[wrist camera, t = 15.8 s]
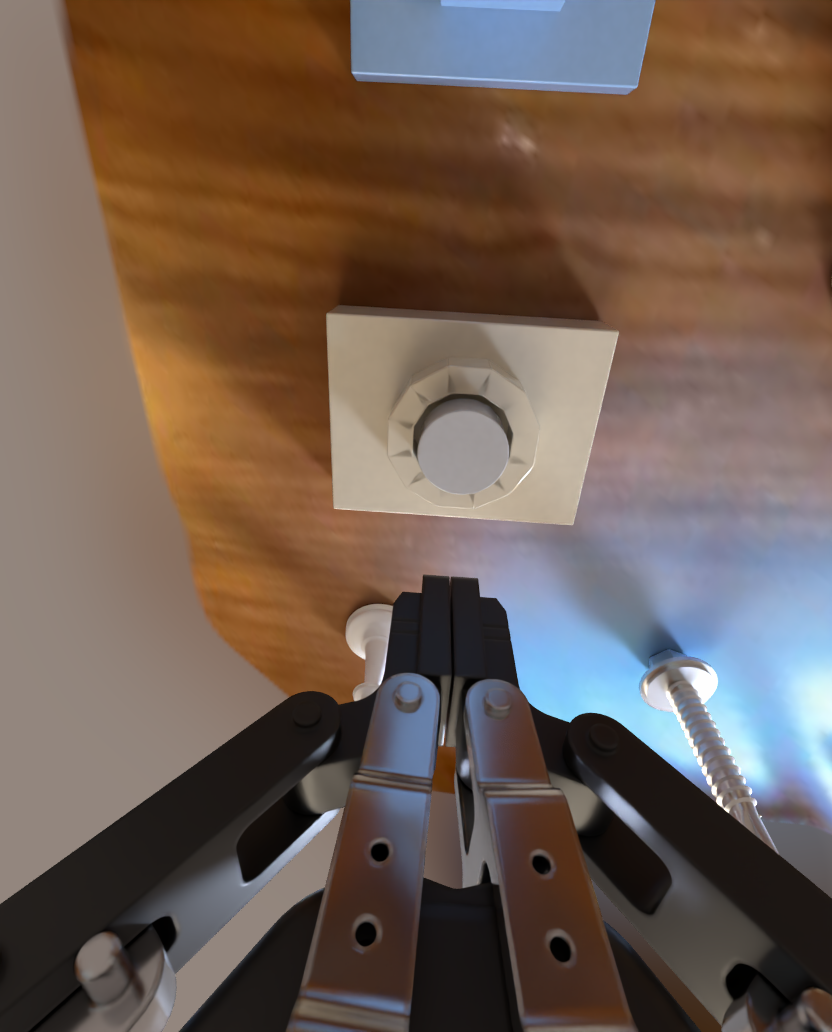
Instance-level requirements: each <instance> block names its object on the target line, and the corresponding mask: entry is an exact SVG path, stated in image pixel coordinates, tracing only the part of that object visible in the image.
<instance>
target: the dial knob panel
mask: <svg viewBox="0 0 832 1032" xmlns="http://www.w3.org/2000/svg"><path fill="white" fill-rule="evenodd" d="M326 328H327V355H328V382H329V409H330V436H331V463H332V490H333V508H334V509H346V510H360V511H375V512H389V513H404V514H418V515H432V516H447V517H461V518H476V519H490V520H505V521H519V522H533V523H548V524H562V525H573V524H574V519H575V515H576V511H577V507H578V503H579V498H580V494H581V490H582V486H583V481H584V477H585V473H586V469H587V465H588V460H589V456H590V452H591V448H592V444H593V439H594V435H595V431H596V427H597V423H598V418H599V414H600V410H601V406H602V402H603V397H604V393H605V389H606V385H607V381H608V376H609V372H610V368H611V364H612V360H613V355H614V351H615V347H616V343H617V339H618V334H619V331H618V330H616V329H615V328H613V327H611V326H610V325H608V324H606V323H605V322H603V321H594V320H577V319H561V318H544V317H528V316H511V315H495V314H478V313H462V312H445V311H429V310H412V309H395V308H379V307H362V306H346V305H337V306H336V307H335V308H333V309H332V310H330V311H329V312H327V313H326ZM458 398H468V399H474V400H478V401H480V402H483V403H484V404H486V405H488V406H489V407H491V408H492V409H493V410H494V411H495V412H496V413H497V415H498V416H499V417H500V419H501V421H502V423H503V426H504V429H505V433H506V436H507V440H508V444H509V458H508V463H507V465H506V468H505V470H504V472H503V473H502V475H501V476H500V477H499V478H498V480H497V481H496V482H494V483H493V484H492V485H491V486H489V487H488V488H486V489H484V490H482V491H479V492H477V493H473V494H466V495H458V494H452V493H448V492H445V491H442V490H441V489H439V488H437V487H436V486H434V485H433V484H432V483H431V482H429V481H428V479H427V478H426V477H425V476H424V474H423V473H422V471H421V468H420V466H419V463H418V457H417V450H418V442H419V434H420V430H421V426H422V424H423V422H424V420H425V418H426V417H427V416H428V414H429V413H430V412H431V411H432V410H433V409H434V408H436V407H437V406H438V405H440V404H442V403H444V402H446V401H449V400H453V399H458Z"/></svg>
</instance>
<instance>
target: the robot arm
mask: <svg viewBox="0 0 832 1032" xmlns="http://www.w3.org/2000/svg"><path fill="white" fill-rule="evenodd" d="M508 627H509V626H508V620H507V614H506V611H505V609H504V608H503V607H502V605H501V604H500V603H499V601H498V600H497V599H496V598H485V597H480V592H479V583H478V578H465V577H451V580H450V581H449V576H436V575H423V582H422V593H413V592H402V593H401V595H400V596H399V597H398V598H397V600H396V601H395V602H394V603H393V610H392V618H391V626H390V633H389V641H388V649H387V656H386V664H385V672H384V677H383V680H382V683H381V684H380V686H379V687H378V688H377V689H376V690H375V691H374V692H373V693H372V694H371V695H369V696H367V697H366V698H363V699H361V700H358V701H354V702H349V703H345V704H340V705H338V704H337V702H336V701H335V700H334V699H333V698H332V697H330V696H329V695H327V694H324V693H321V692H315V691H307V692H301V693H298V694H295V695H293V696H291V697H289V698H288V699H286V700H285V701H283V702H282V703H280V704H279V705H278V706H276V707H275V708H273V709H272V710H271V711H270V712H268V713H267V714H265V715H264V716H262V717H261V718H260V719H258V720H257V721H255V722H254V723H253V724H251V725H250V726H248V727H247V728H246V729H244V730H243V731H241V732H240V733H239V734H237V735H236V736H235V737H233V738H232V739H230V740H229V741H227V742H226V743H225V744H223V745H222V746H220V747H219V748H218V749H216V750H215V751H213V752H212V753H211V754H210V755H208V756H207V757H205V758H204V759H202V760H201V761H199V762H198V763H197V764H195V765H194V766H193V767H191V768H190V769H188V770H187V771H186V772H184V773H183V774H181V775H180V776H179V777H177V778H176V779H174V780H173V781H172V782H170V783H169V784H168V785H166V786H165V787H163V788H162V789H161V790H159V791H158V792H156V793H155V794H153V795H152V796H151V797H149V798H148V799H146V800H145V801H144V802H142V803H141V804H140V805H138V806H137V807H135V808H134V809H132V810H131V811H130V812H128V813H127V814H126V815H124V816H123V817H121V818H120V819H119V820H117V821H116V822H114V823H113V824H112V825H110V826H109V827H107V828H106V829H105V830H103V831H102V832H100V833H99V834H98V835H96V836H95V837H93V838H92V839H91V840H89V841H88V842H86V843H85V844H84V845H82V846H81V847H79V848H78V849H77V850H75V851H74V852H72V853H71V854H70V855H68V856H67V857H65V858H64V859H63V860H61V861H60V862H58V863H57V864H56V865H54V866H53V867H52V868H50V869H49V870H47V871H46V872H45V873H43V874H42V875H40V876H39V877H38V878H36V879H35V880H33V881H32V882H31V883H29V884H28V885H26V886H25V887H24V888H22V889H21V890H20V891H18V892H17V893H15V894H14V895H12V896H11V897H10V898H8V899H7V900H5V901H4V902H3V903H1V904H0V1032H162V1031H163V1029H164V1027H165V1026H166V1023H167V1021H168V1019H169V1017H170V1015H171V1012H172V1009H173V1006H174V1002H175V997H176V977H175V974H176V973H177V972H178V971H179V970H180V969H181V968H182V967H183V966H184V965H185V964H186V963H187V962H188V961H189V960H190V959H191V958H192V957H193V956H194V955H195V954H196V953H197V952H198V951H199V950H200V949H201V948H202V947H203V946H204V945H205V944H206V943H207V942H208V941H209V940H210V939H211V938H212V937H213V936H214V935H215V934H216V933H217V932H218V931H219V930H220V929H221V928H222V927H223V926H225V924H227V923H228V922H229V921H230V920H231V919H232V917H234V916H235V915H236V914H237V913H238V912H239V911H240V910H241V909H242V908H243V907H244V906H245V905H246V904H247V903H248V902H249V901H250V900H251V899H252V898H253V897H254V896H255V895H256V894H257V893H258V892H259V891H260V890H261V889H262V888H263V887H264V886H265V885H266V884H267V883H268V882H269V881H270V880H271V879H272V878H273V877H274V876H275V875H276V874H277V873H278V872H279V871H280V870H281V869H282V868H283V867H284V866H285V865H286V864H287V863H288V862H289V861H290V860H291V859H293V858H294V857H295V856H296V854H297V853H299V852H300V850H302V849H303V848H304V847H305V845H306V844H308V843H309V842H310V841H311V840H312V839H313V838H314V837H315V836H316V835H317V834H318V833H319V832H320V831H321V830H322V829H323V828H324V827H325V826H326V825H327V824H328V823H329V822H330V821H331V820H332V819H333V818H334V817H335V816H336V815H337V813H338V811H339V810H340V808H343V807H345V808H344V812H343V816H342V820H341V824H340V828H339V833H338V837H337V840H336V845H335V849H334V853H333V857H332V861H331V865H330V869H329V873H328V877H327V881H326V885H325V888H322V889H320V890H318V891H316V892H314V893H312V894H310V895H308V896H307V897H305V898H304V899H302V900H301V901H299V902H298V903H297V904H295V905H294V906H293V907H292V908H291V909H289V910H288V911H287V912H286V913H285V914H284V915H282V916H281V918H280V919H279V920H278V921H277V922H276V923H275V924H274V925H273V926H272V927H271V928H270V930H269V931H268V932H267V933H266V934H265V935H264V936H263V937H262V938H261V940H260V941H259V942H258V943H257V944H256V945H255V946H254V947H253V949H252V950H251V951H250V952H249V953H248V954H247V955H246V957H245V958H244V959H243V960H242V961H241V962H240V963H239V964H238V966H237V967H236V968H235V969H234V970H233V971H232V972H231V973H230V975H229V976H228V977H227V978H226V979H225V980H224V981H223V982H222V984H221V985H220V986H219V987H218V988H217V989H216V990H215V991H214V993H213V994H212V995H211V996H210V997H209V998H208V999H207V1000H206V1002H205V1003H204V1004H203V1005H202V1006H201V1007H200V1008H199V1009H198V1011H197V1012H196V1013H195V1014H194V1015H193V1016H192V1017H191V1018H190V1020H189V1021H188V1022H187V1023H186V1024H185V1025H184V1026H183V1027H182V1029H181V1030H180V1031H179V1032H701V1031H700V1029H699V1028H698V1027H697V1026H696V1025H695V1023H694V1022H693V1021H692V1020H691V1019H690V1017H689V1016H688V1015H687V1014H686V1012H685V1011H684V1010H683V1009H682V1007H681V1006H680V1005H679V1004H678V1003H677V1001H676V1000H675V999H674V998H673V996H672V995H671V994H670V993H669V992H668V991H667V989H666V988H665V987H664V985H663V984H662V983H661V982H660V981H659V979H658V978H657V977H656V976H655V974H654V973H653V972H652V971H651V969H650V968H649V967H648V966H647V965H646V963H645V962H644V961H643V960H642V959H641V957H640V956H639V955H638V954H637V952H636V951H635V950H634V949H633V948H632V947H631V945H630V944H629V943H628V942H627V941H626V940H625V939H624V938H623V937H622V936H621V935H620V934H619V933H618V932H617V931H616V930H615V929H613V928H612V927H611V926H610V925H609V924H608V923H606V922H605V921H604V920H603V919H602V915H601V912H600V908H599V905H598V902H597V898H596V895H595V892H594V888H593V885H592V881H591V879H592V880H593V881H594V882H595V883H596V885H597V886H598V887H599V888H600V889H601V890H602V891H603V892H604V894H605V895H606V896H607V897H608V898H609V899H610V900H611V902H612V903H613V904H614V905H615V906H616V907H617V908H618V909H619V911H620V912H621V913H622V914H623V915H624V916H625V917H626V918H627V919H628V921H629V922H630V923H631V924H632V925H633V926H634V927H635V929H636V930H637V931H638V932H639V933H640V934H641V935H642V936H643V938H644V939H645V940H646V941H647V942H648V943H649V944H650V946H651V947H652V948H653V949H654V950H655V951H656V952H657V953H658V955H659V956H660V957H661V958H662V959H663V960H664V961H665V962H666V964H667V965H668V966H669V967H670V968H671V969H672V970H673V971H674V973H675V974H676V975H677V976H678V977H679V978H680V979H681V981H682V982H683V983H684V984H685V985H686V986H687V987H688V988H689V989H690V991H691V992H692V993H693V994H694V995H695V996H696V997H697V999H698V1000H699V1001H700V1002H701V1003H702V1004H703V1005H704V1006H705V1008H706V1009H707V1010H708V1011H709V1012H710V1013H711V1014H712V1016H713V1017H714V1018H715V1019H716V1020H717V1021H718V1022H719V1023H720V1025H721V1026H722V1032H832V898H830V897H829V896H828V895H827V894H826V893H824V892H823V891H822V890H821V889H820V888H818V887H817V886H816V885H815V884H814V883H812V882H811V881H810V880H809V879H808V878H806V877H805V876H804V875H803V874H802V873H800V872H799V871H798V870H797V869H795V868H794V867H793V866H792V865H791V864H789V863H788V862H787V861H786V860H784V859H783V858H782V857H781V856H780V855H779V854H777V853H776V852H775V851H774V850H773V849H771V848H770V847H769V846H768V845H767V844H765V843H764V842H763V841H762V840H761V839H759V838H758V837H757V836H756V835H754V834H753V833H752V832H751V831H750V830H748V829H747V828H746V827H745V826H744V825H742V824H741V823H740V822H739V821H738V820H736V819H735V818H734V817H733V816H732V815H730V814H729V813H728V812H727V811H726V810H724V809H723V808H722V807H721V806H720V805H718V804H717V803H716V802H715V801H713V800H712V799H711V798H710V797H709V796H707V795H706V794H705V793H704V792H703V791H701V790H700V789H699V788H698V787H697V786H695V785H694V784H693V783H692V782H691V781H689V780H688V779H687V778H686V777H685V776H683V775H682V774H681V773H680V772H679V771H677V770H676V769H675V768H674V767H672V766H671V765H670V764H669V763H668V762H666V761H665V760H664V759H663V758H662V757H660V756H659V755H658V754H657V753H656V752H654V751H653V750H652V749H651V748H650V747H648V746H647V745H646V744H645V743H644V742H642V741H641V740H640V739H639V738H637V737H636V736H635V735H634V734H633V733H631V732H630V731H629V730H628V729H627V728H625V727H624V726H623V725H622V724H620V723H619V722H618V721H616V720H614V719H612V718H610V717H608V716H605V715H602V714H597V713H584V714H581V715H578V716H577V717H575V718H574V719H573V720H572V721H571V722H570V723H569V722H566V721H563V720H561V719H558V718H555V717H552V716H549V715H547V714H545V713H543V712H541V711H539V710H538V709H536V708H535V707H533V706H532V705H531V704H530V703H529V702H528V700H527V698H526V697H525V695H524V694H523V693H522V691H520V688H519V684H518V679H517V673H516V667H515V661H514V655H513V649H512V643H511V641H510V639H511V637H510V631H509V629H508ZM445 726H446V746H448V747H456V767H455V774H454V785H455V795H456V804H457V815H458V824H459V834H460V844H461V854H462V867H463V881H462V888H461V889H453V888H450V887H447V886H444V885H442V884H439V883H437V882H434V881H431V880H429V879H426V878H424V877H423V875H424V865H425V854H426V843H427V834H428V823H429V812H430V802H431V792H432V778H433V773H434V770H435V766H436V757H437V749H438V746H443V741H444V733H445Z"/></svg>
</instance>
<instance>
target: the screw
mask: <svg viewBox="0 0 832 1032" xmlns="http://www.w3.org/2000/svg"><path fill="white" fill-rule="evenodd" d="M717 683H718V678H717V675H716V673H715V671H714V670H713V668H712V667H711V665H709V664H708V663H707V662H705V661H703V660H701V659H698V658H694V657H687V655H684V654H681V653H679V652H676V651H673V650H670V649H668V650H665V651H663V652H661V653H659V654H657V655H654V656H652V657H650V660H649V669H648V670H647V671H646V672H645V674H644V675H643V676H642V678H641V680H640V683H639V690H640V694H641V696H642V698H643V700H644V701H645V702H646V703H647V704H648V705H649V706H651V707H653V708H655V709H658V710H661V711H667V712H674V713H675V714H676V715H677V718H678V721H679V722H680V723H681V727H682V729H683V731H685V736H686V738H687V739H688V740H689V744H690V746H691V748H692V749H693V752H694V755H695V756H696V757H697V758H698V764H699V765H700V766H701V767H702V772H703V774H704V775H705V776H706V777H707V783H708V784H709V786H711V787H712V793H713V795H714V796H715V797H716V798H717V804H718V805H720V806H721V807H722V808H723V809H724V810H726V811H727V812H728V813H729V814H730V815H732V816H733V817H734V818H735V819H736V820H738V821H739V822H740V823H741V824H742V825H744V826H745V827H746V828H747V829H748V830H750V831H751V832H752V833H753V834H754V835H756V836H757V837H758V838H759V839H761V840H762V841H763V842H764V843H765V844H767V845H768V846H769V847H770V848H771V849H773V850H774V851H775V852H776V853H777V854H779V853H778V851H777V849H776V847H775V845H774V843H773V841H772V839H771V838H770V836H769V834H768V832H767V830H766V828H765V826H764V824H763V822H762V821H761V819H760V817H761V815H759V814H758V813H757V810H756V808H755V806H756V804H757V801H756V799H754V798H751V795H750V794H751V793H752V790H751V788H750V787H748V786H745V783H746V779H745V777H743V776H741V775H739V774H740V771H741V770H740V768H739V767H738V766H736V765H734V763H735V758H734V757H732V756H730V755H729V754H730V749H729V748H728V747H726V746H724V745H725V740H724V739H723V738H721V737H719V736H720V731H719V730H718V729H716V728H715V727H716V723H715V722H714V721H713V720H711V714H710V713H709V712H706V711H707V707H706V706H705V705H704V704H703V703H705V702H706V701H707V700H708V699H709V698H710V697H711V696H712V694H713V693H714V691H715V690H716V687H717Z"/></svg>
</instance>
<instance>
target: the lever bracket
mask: <svg viewBox="0 0 832 1032" xmlns="http://www.w3.org/2000/svg"><path fill="white" fill-rule="evenodd" d="M654 5H655V0H350V37H351V73H352V75H353V76H354V78H355V80H356V81H368V82H388V83H408V84H427V85H447V86H467V87H487V88H506V89H526V90H546V91H566V92H585V93H605V94H625V95H627V94H629V93H630V92H632V91H633V90H634V89H636V88H637V86H638V82H639V77H640V72H641V68H642V63H643V58H644V53H645V48H646V44H647V39H648V34H649V29H650V24H651V19H652V15H653V10H654Z"/></svg>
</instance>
